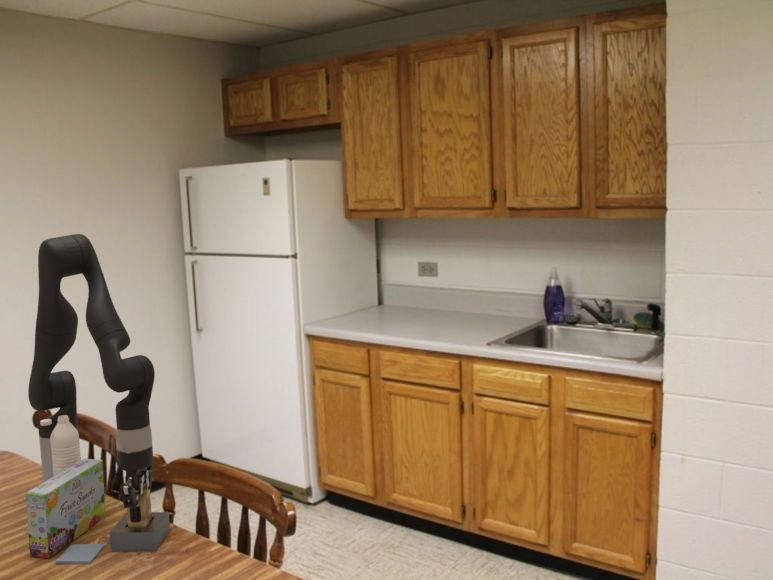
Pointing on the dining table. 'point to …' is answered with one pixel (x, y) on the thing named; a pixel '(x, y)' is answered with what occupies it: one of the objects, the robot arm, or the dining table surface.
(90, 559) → the rubber mat
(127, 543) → the socket block
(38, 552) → the snack box
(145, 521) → the square peg
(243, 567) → the dining table surface
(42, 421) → the water bottle
